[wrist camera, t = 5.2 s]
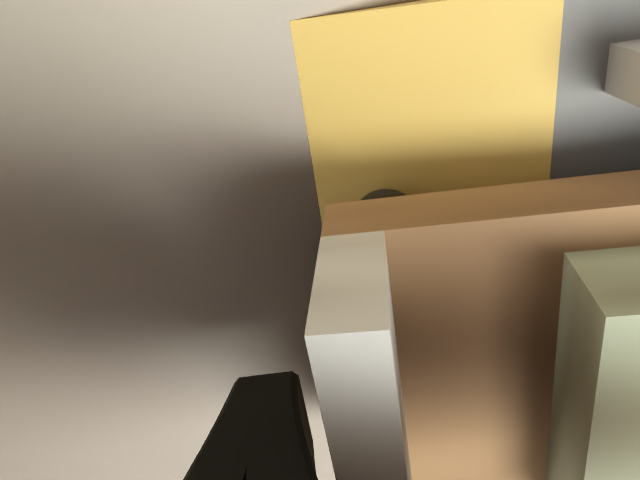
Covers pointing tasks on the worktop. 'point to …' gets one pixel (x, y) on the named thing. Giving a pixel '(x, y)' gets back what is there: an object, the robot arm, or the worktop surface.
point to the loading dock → (468, 94)
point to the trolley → (481, 332)
